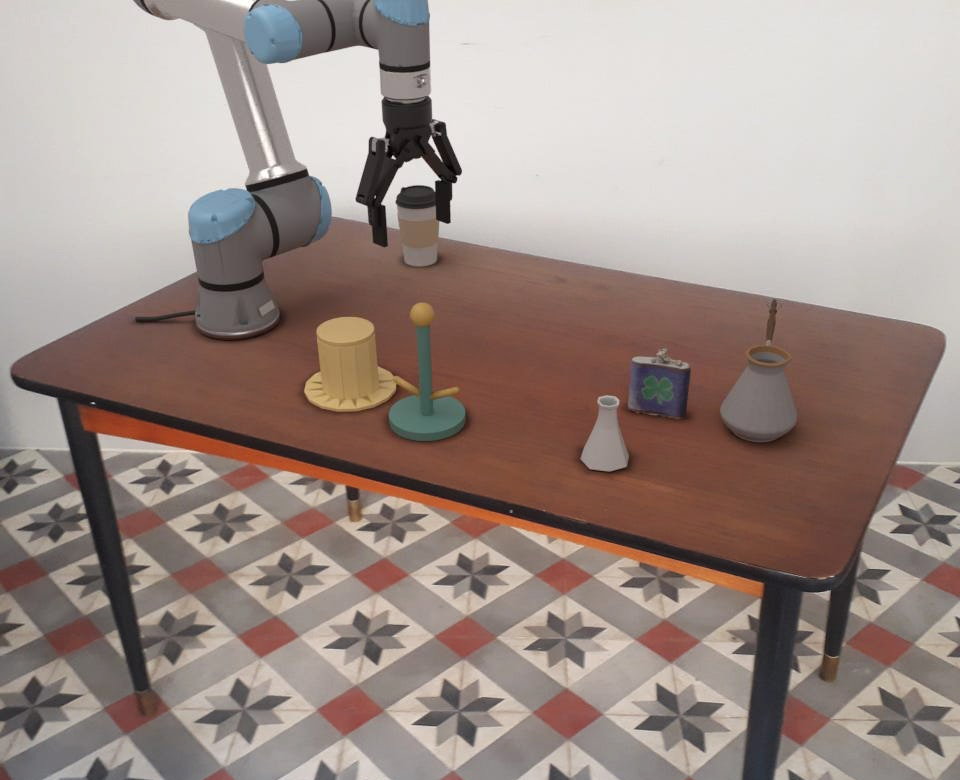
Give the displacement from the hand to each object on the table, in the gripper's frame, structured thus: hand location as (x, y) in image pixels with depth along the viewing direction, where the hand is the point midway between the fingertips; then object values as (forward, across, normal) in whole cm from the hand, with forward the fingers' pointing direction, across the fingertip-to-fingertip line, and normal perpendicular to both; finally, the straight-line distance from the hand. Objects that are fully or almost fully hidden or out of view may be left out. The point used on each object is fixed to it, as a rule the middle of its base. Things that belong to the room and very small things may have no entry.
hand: (412, 232), depth 168 cm
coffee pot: (+22, +25, -52) cm, 62 cm away
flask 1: (+23, -2, -43) cm, 49 cm away
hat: (+23, -15, 0) cm, 27 cm away
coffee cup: (+23, +29, +32) cm, 49 cm away
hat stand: (+23, -13, -16) cm, 31 cm away
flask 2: (+23, +14, -41) cm, 49 cm away
